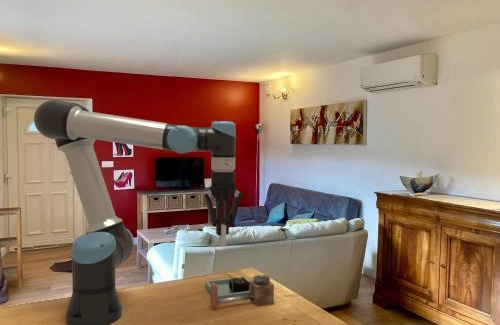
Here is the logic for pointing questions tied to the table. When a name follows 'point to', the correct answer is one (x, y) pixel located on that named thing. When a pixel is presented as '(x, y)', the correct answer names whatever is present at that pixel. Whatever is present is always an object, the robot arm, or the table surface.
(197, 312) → the table surface
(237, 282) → the tape measure
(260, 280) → the pulley block
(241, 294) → the tray
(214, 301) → the lock pin
